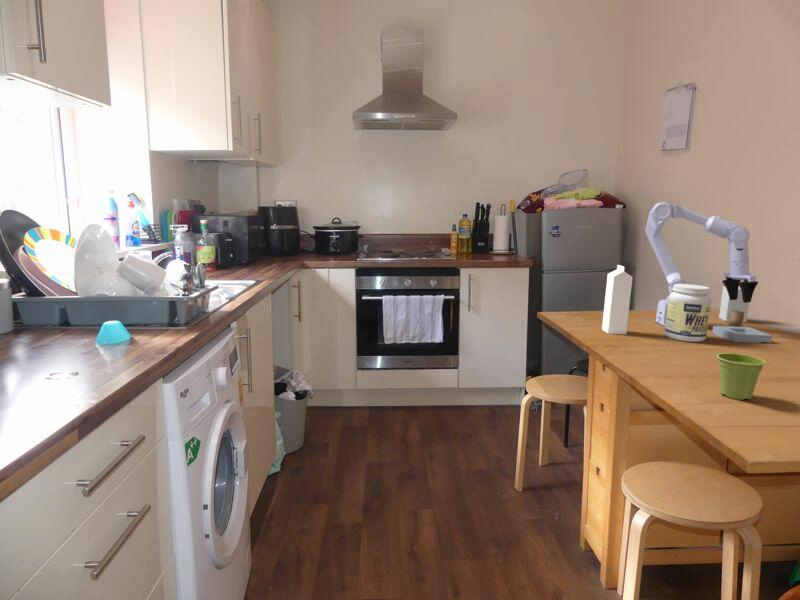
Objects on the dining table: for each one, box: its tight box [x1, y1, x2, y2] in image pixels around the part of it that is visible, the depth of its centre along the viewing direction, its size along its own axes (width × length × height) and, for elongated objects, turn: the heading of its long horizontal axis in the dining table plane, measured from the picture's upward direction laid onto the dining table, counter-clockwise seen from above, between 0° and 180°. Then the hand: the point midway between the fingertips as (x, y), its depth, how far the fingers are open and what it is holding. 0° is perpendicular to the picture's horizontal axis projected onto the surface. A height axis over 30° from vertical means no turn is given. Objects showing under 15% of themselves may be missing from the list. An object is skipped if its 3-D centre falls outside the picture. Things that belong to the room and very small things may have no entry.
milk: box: [601, 264, 634, 335], centre depth 185 cm, size 6×6×22 cm
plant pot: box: [716, 352, 767, 401], centre depth 126 cm, size 9×9×9 cm
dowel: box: [728, 310, 744, 327], centre depth 195 cm, size 4×4×7 cm
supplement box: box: [718, 285, 750, 323], centre depth 214 cm, size 7×7×13 cm
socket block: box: [712, 325, 773, 344], centre depth 185 cm, size 12×12×2 cm
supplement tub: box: [663, 283, 712, 343], centre depth 181 cm, size 12×12×17 cm
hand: (740, 301), depth 194 cm, fingers open, 7 cm apart
